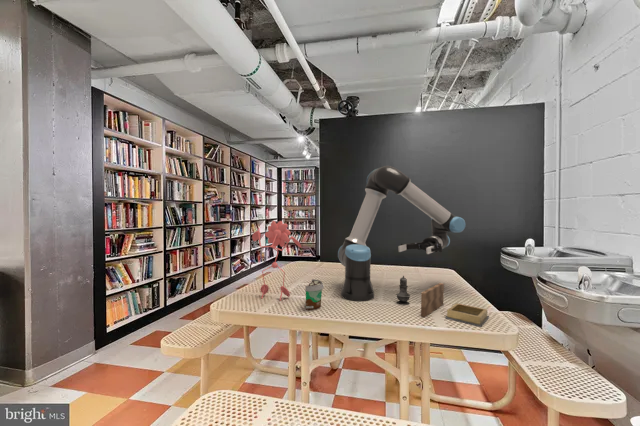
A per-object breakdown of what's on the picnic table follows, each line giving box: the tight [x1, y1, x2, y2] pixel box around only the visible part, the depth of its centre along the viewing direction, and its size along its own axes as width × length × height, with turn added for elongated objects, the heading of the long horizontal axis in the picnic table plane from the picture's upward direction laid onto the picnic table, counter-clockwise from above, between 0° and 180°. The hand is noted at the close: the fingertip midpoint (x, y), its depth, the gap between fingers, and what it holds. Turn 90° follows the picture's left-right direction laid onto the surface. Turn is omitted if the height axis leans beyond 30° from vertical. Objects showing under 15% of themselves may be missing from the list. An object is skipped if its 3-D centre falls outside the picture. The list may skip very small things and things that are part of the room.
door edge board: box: [420, 282, 445, 318], centre depth 119 cm, size 20×2×9 cm, turn 138°
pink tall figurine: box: [251, 220, 303, 303], centre depth 137 cm, size 15×26×35 cm, turn 71°
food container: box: [304, 279, 324, 311], centre depth 121 cm, size 12×6×10 cm, turn 168°
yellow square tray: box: [445, 303, 490, 328], centre depth 110 cm, size 12×12×3 cm
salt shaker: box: [396, 275, 411, 306], centre depth 127 cm, size 6×6×12 cm
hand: (412, 250), depth 134 cm, fingers open, 13 cm apart
